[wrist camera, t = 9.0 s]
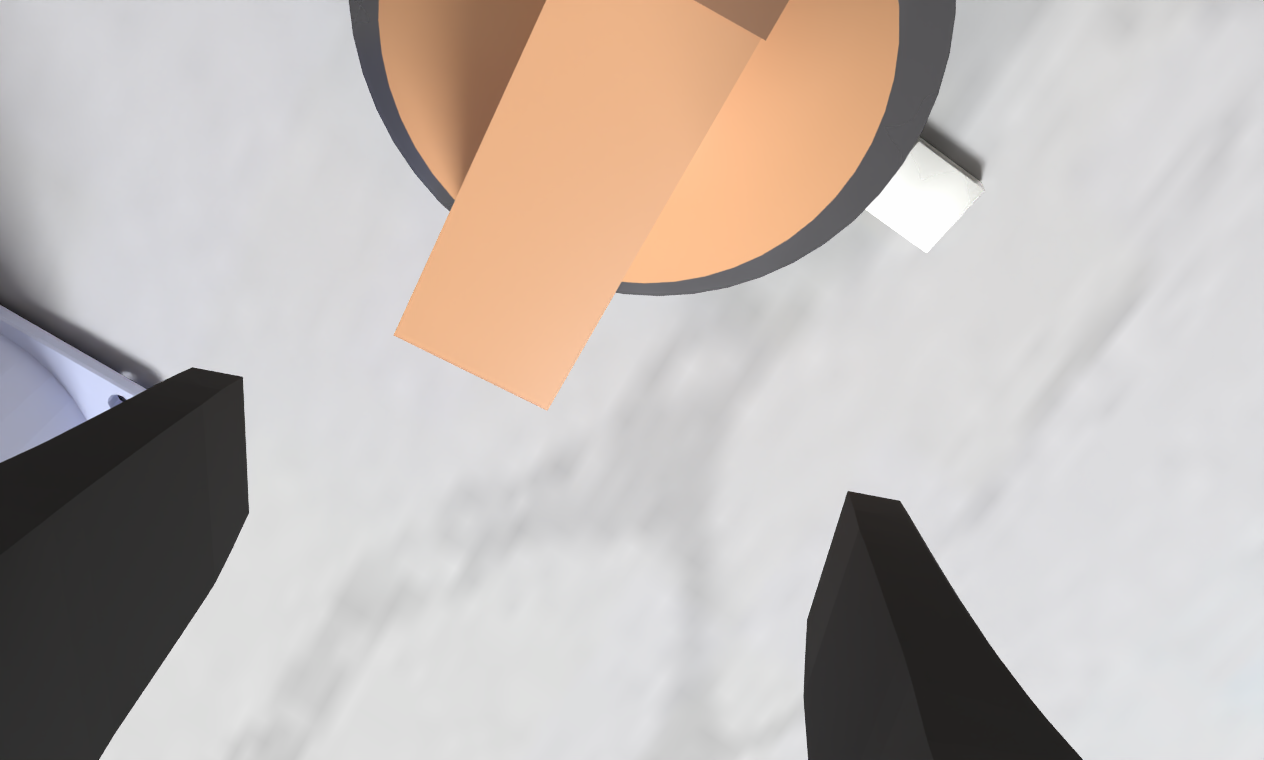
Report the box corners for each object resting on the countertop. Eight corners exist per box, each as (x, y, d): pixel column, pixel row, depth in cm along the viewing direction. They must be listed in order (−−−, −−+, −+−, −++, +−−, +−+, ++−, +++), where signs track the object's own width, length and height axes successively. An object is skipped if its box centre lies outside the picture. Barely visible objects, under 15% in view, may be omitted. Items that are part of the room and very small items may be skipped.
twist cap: (732, 326, 21) (718, 496, 16) (336, 121, 20) (203, 244, 15) (999, -80, 17) (1075, 0, 12) (518, -369, 15) (410, -397, 11)
